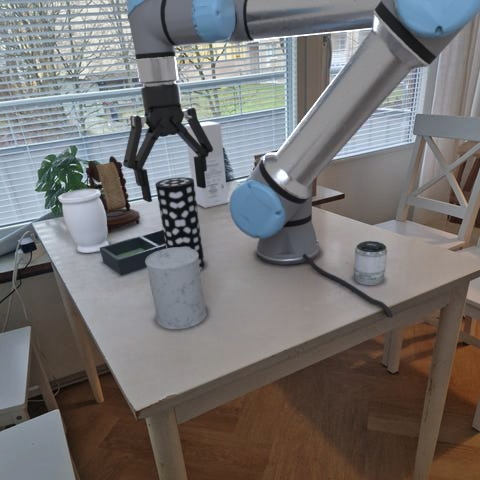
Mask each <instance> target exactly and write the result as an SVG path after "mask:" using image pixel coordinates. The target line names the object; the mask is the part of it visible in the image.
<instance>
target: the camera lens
mask: <svg viewBox="0 0 480 480" xmlns="http://www.w3.org/2000/svg"><path fill="white" fill-rule="evenodd" d="M387 256H388V248H387V246H386V244H384V243H383V242H379V241H374V240H365V241H361V242H359V243H358V244H357V245H356V246H355V248H354V263H353V276H354V281H355V282H356V283H358V284H361V285H363V286H376V285H379V284H381V283H382V282H383V279H384V277H385V274H386V266H387Z"/></svg>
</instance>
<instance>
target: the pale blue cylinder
mask: <svg viewBox="0 0 480 480" xmlns="http://www.w3.org/2000/svg"><path fill="white" fill-rule="evenodd" d="M198 257H199V255H198V252H197V251H195V250H194V249H191V248H185V247H174V248H167V249H163V250H159V251H157V252H154V253H152V254H151V255H149V256H148V257H147V258H146V260H145V263H146V265H147V267H146V271H147V275H148V279H149V284H150V290H151V294H152V299H153V305H154V309H155V313H156V314H155V315H156V321H157V323H158V324H159V325H160V326H161V327H163V328H165V329H169V330H183V329H184V330H185V329H189V328H192V327H194V326H197V325H198V324H200V323H202V322H203V321H204V319H205V318H206V317H207V310H206V305H205V298H204V290H203V283H202V276H201V275H202V274H201V270H200V267H199V259H198Z"/></svg>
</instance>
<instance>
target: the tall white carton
mask: <svg viewBox="0 0 480 480" xmlns="http://www.w3.org/2000/svg"><path fill="white" fill-rule="evenodd" d="M199 123H200V125H201V126H202V128H203V130H204V132H205V134H206V136H207V138H208V140H209V142H210V144H211V145H212V147H213V151H212V152H209V153H208V157H206V164H207V171H205V181H206V188H200V187H197V182H196V173H195V165H194V157H195V156H198V155H197V154H196V153H195V152H194V151H193V150H192V149H191V148H190V147H189V146H188V145H187V144H186V146H187V147H186V148H187V154H188V155H187V156H188V163H189V170H190V178H192V179H193V180H194V186H195V194H196V202H197V206H200V207H202V208H204V209H207V208H211V207H216V206H220V205H224V204H228V203H229V202H228V201H229V200H228V189H227V178H226V167H225V166H226V165H225V156H224V146H223V135H222V134H223V133H222V124H221V123H219V122H215V121H203V122H199ZM184 127H185V128H186V129H187V130H188V132H189V133H190V135H191V136H192V137H193V138H194V139H195V140H196V141H197V142H198V140H197V138H196V136H195V134H194V133H193V131H192V129H191V127H190V125H189V123H188V124H184ZM198 143H199V142H198ZM199 145H200V144H199ZM200 146H201V145H200Z"/></svg>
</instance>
